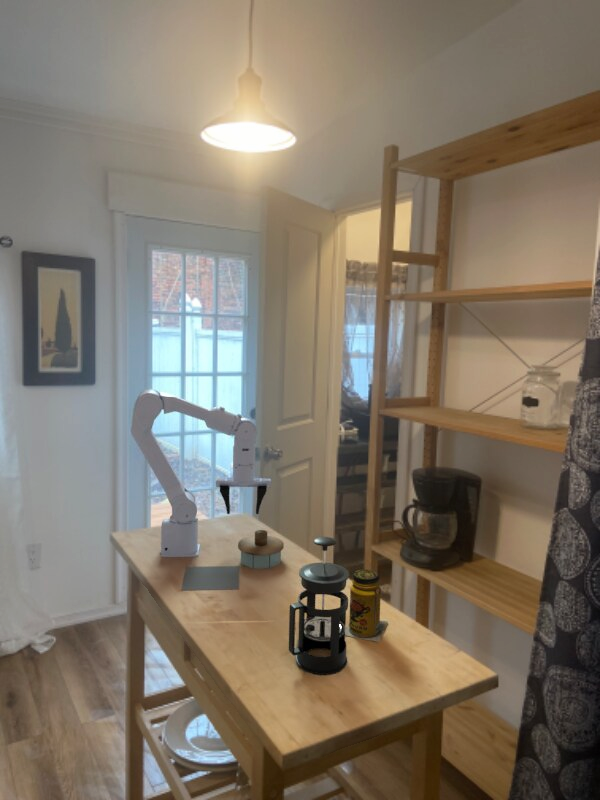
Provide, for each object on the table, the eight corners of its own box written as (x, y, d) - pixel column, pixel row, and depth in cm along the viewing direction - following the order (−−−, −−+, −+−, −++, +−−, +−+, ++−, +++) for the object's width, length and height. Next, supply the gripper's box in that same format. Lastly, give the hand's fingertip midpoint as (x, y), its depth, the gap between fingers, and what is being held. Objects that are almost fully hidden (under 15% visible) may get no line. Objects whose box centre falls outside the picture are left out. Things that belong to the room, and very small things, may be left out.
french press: (333, 641, 116) (337, 526, 113) (360, 666, 107) (365, 543, 104) (278, 656, 110) (281, 535, 107) (302, 683, 102) (306, 554, 99)
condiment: (342, 635, 118) (344, 577, 116) (353, 616, 126) (355, 561, 124) (378, 643, 116) (381, 584, 114) (387, 622, 124) (390, 567, 122)
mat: (181, 591, 135) (181, 590, 135) (186, 567, 148) (186, 566, 148) (238, 590, 136) (238, 589, 136) (239, 567, 149) (238, 565, 149)
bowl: (241, 569, 148) (241, 554, 147) (240, 553, 158) (241, 539, 157) (281, 568, 149) (281, 553, 148) (278, 553, 159) (279, 538, 158)
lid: (236, 555, 146) (236, 540, 146) (239, 538, 158) (239, 524, 158) (283, 555, 147) (284, 540, 147) (283, 538, 158) (283, 524, 158)
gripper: (215, 466, 154) (214, 517, 156) (271, 467, 155) (270, 517, 157) (216, 460, 161) (216, 509, 163) (270, 461, 162) (269, 509, 164)
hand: (242, 512), depth 160 cm, fingers open, 7 cm apart
